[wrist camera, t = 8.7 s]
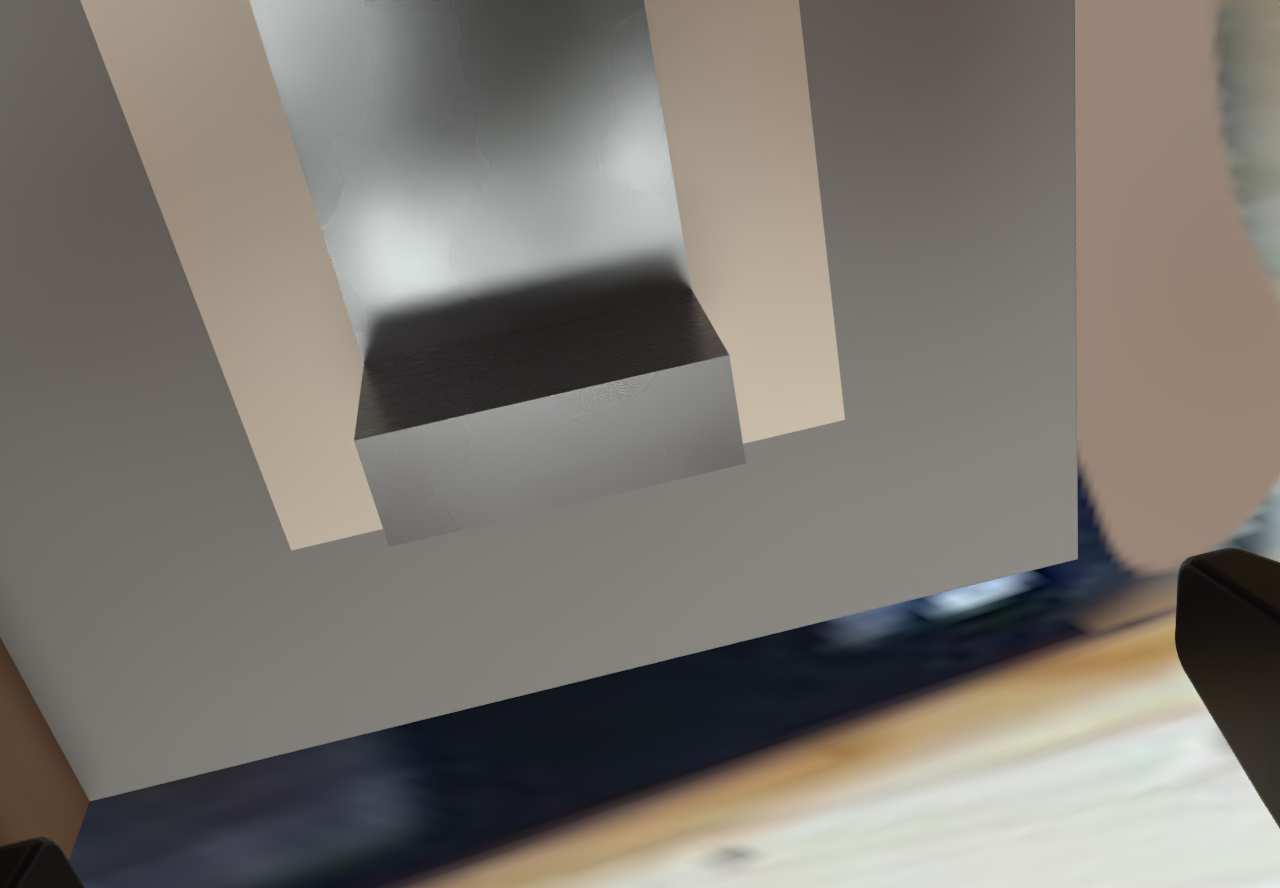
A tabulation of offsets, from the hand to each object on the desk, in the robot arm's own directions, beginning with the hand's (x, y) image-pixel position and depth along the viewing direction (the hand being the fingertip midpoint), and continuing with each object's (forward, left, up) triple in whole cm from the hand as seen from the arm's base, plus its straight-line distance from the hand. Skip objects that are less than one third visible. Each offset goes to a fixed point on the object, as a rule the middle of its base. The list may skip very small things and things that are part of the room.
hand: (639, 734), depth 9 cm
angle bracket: (0, +2, -9) cm, 10 cm away
